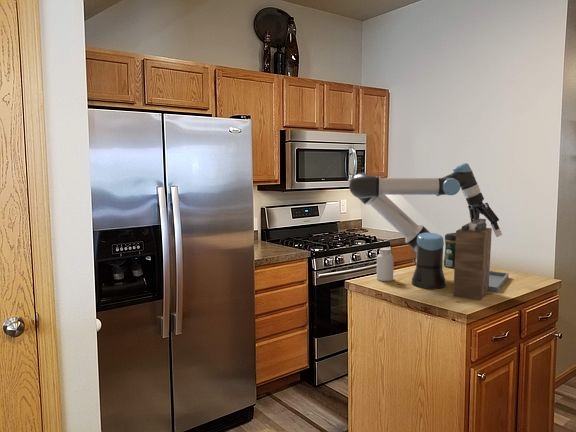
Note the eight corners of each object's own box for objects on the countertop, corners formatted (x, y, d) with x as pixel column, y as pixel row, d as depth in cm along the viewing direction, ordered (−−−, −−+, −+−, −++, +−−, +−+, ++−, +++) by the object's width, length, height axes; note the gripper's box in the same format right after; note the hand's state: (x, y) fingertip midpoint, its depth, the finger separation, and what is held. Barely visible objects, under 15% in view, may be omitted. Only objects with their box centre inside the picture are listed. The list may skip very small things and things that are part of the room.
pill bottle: (382, 276, 227) (382, 246, 225) (396, 279, 222) (397, 248, 220) (373, 279, 222) (373, 248, 220) (387, 282, 216) (388, 251, 214)
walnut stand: (462, 287, 207) (465, 221, 204) (488, 291, 201) (492, 223, 198) (453, 296, 194) (456, 225, 190) (480, 300, 188) (484, 228, 184)
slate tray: (469, 272, 235) (470, 268, 235) (508, 277, 225) (508, 273, 225) (454, 286, 209) (454, 281, 209) (497, 292, 200) (497, 287, 199)
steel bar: (478, 225, 208) (478, 218, 208) (485, 225, 207) (485, 218, 206) (468, 230, 192) (468, 223, 191) (475, 230, 190) (476, 223, 190)
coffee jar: (452, 264, 255) (453, 231, 253) (464, 266, 248) (466, 233, 246) (440, 266, 250) (442, 232, 248) (453, 269, 243) (454, 234, 241)
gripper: (494, 189, 205) (513, 232, 206) (466, 193, 230) (483, 231, 231) (480, 196, 204) (499, 239, 205) (453, 199, 229) (470, 237, 230)
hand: (491, 235), depth 218 cm, fingers open, 13 cm apart
